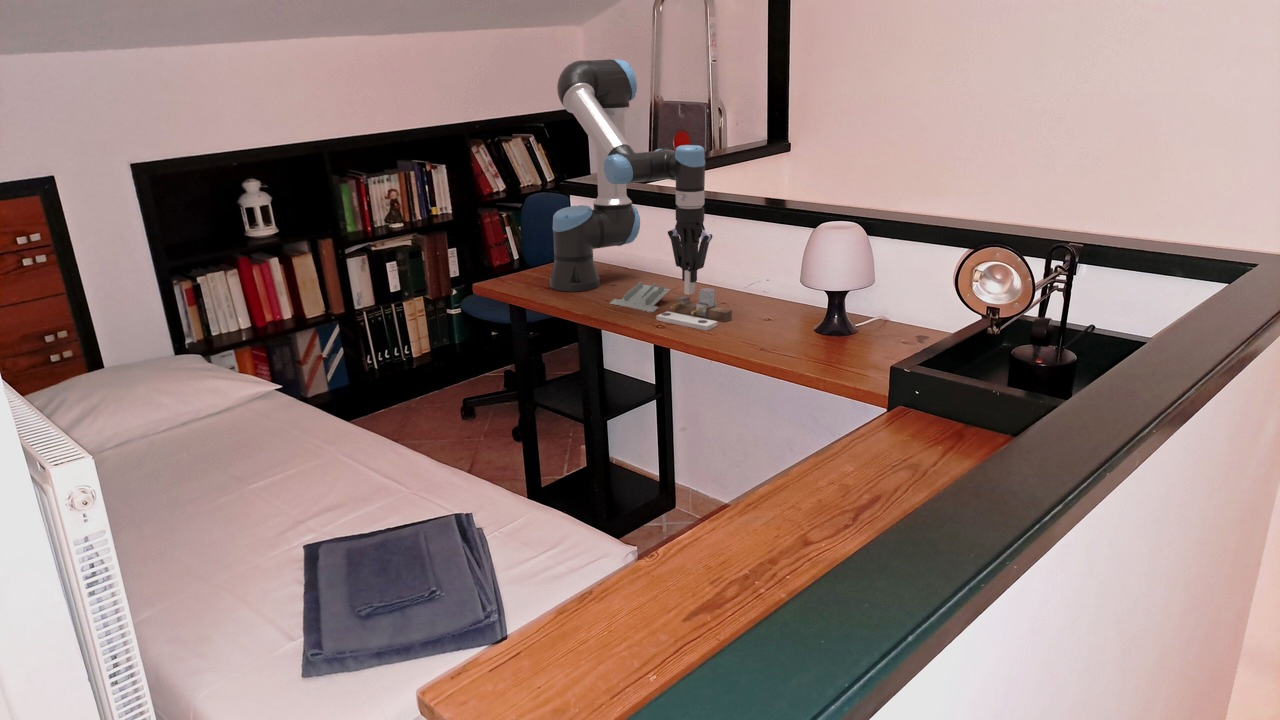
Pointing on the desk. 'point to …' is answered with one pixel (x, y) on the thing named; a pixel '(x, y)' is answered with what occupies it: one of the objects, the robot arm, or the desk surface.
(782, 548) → the desk surface
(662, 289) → the metal bracket
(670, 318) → the hole plate
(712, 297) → the slider
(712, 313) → the brown fixture base
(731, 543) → the desk surface
